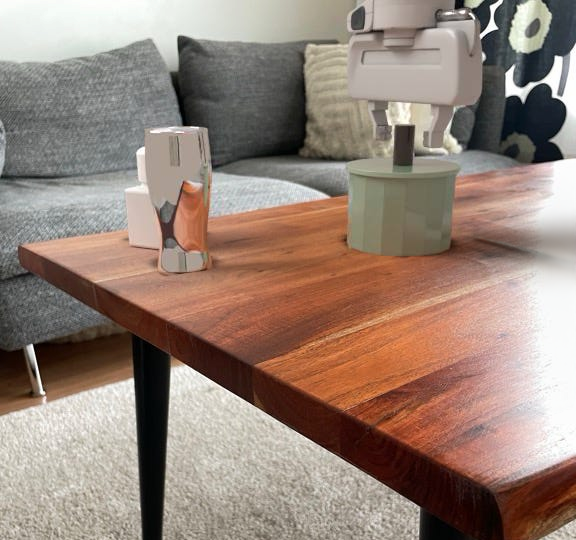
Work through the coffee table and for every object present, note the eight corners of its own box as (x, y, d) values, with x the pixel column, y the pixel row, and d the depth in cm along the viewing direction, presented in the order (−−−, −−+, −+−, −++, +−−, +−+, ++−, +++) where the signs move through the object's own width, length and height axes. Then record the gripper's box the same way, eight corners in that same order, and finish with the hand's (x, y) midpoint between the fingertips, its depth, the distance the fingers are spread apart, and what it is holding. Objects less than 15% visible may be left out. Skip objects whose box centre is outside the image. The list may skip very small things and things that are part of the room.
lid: (410, 164, 95) (413, 118, 92) (484, 177, 84) (490, 126, 82) (323, 172, 89) (324, 123, 86) (391, 187, 78) (394, 132, 76)
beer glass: (206, 279, 77) (198, 132, 71) (144, 276, 78) (132, 131, 72) (223, 263, 84) (217, 126, 77) (165, 260, 85) (155, 125, 78)
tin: (406, 232, 98) (410, 160, 94) (471, 252, 88) (479, 172, 84) (328, 243, 92) (330, 167, 88) (388, 265, 82) (393, 181, 78)
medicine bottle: (161, 235, 97) (154, 141, 92) (206, 240, 94) (201, 144, 89) (128, 246, 91) (118, 147, 86) (175, 252, 88) (168, 150, 83)
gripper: (503, 7, 72) (489, 150, 78) (381, 17, 89) (377, 135, 94) (456, 5, 70) (445, 154, 75) (338, 16, 86) (336, 138, 91)
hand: (406, 144), depth 85 cm, fingers open, 8 cm apart
